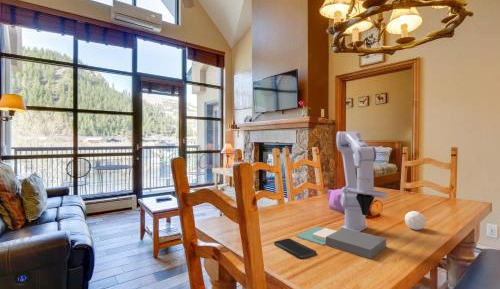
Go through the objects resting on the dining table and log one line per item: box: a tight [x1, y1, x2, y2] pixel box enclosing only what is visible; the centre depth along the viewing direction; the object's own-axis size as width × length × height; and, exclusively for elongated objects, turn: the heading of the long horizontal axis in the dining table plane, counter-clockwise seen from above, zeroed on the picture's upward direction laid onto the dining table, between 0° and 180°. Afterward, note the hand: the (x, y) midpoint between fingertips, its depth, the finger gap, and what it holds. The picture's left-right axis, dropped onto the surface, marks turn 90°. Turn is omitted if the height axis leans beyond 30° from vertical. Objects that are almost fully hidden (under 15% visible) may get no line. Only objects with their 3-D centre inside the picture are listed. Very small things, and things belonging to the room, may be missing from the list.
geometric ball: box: [404, 210, 427, 231], centre depth 112 cm, size 8×8×8 cm
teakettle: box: [326, 186, 345, 213], centre depth 145 cm, size 17×17×12 cm
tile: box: [312, 227, 338, 242], centre depth 103 cm, size 10×7×2 cm
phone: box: [273, 237, 317, 260], centre depth 92 cm, size 8×1×15 cm
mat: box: [295, 226, 326, 246], centre depth 105 cm, size 16×12×1 cm
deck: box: [325, 228, 387, 260], centre depth 94 cm, size 14×16×3 cm
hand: (365, 214), depth 98 cm, fingers closed
